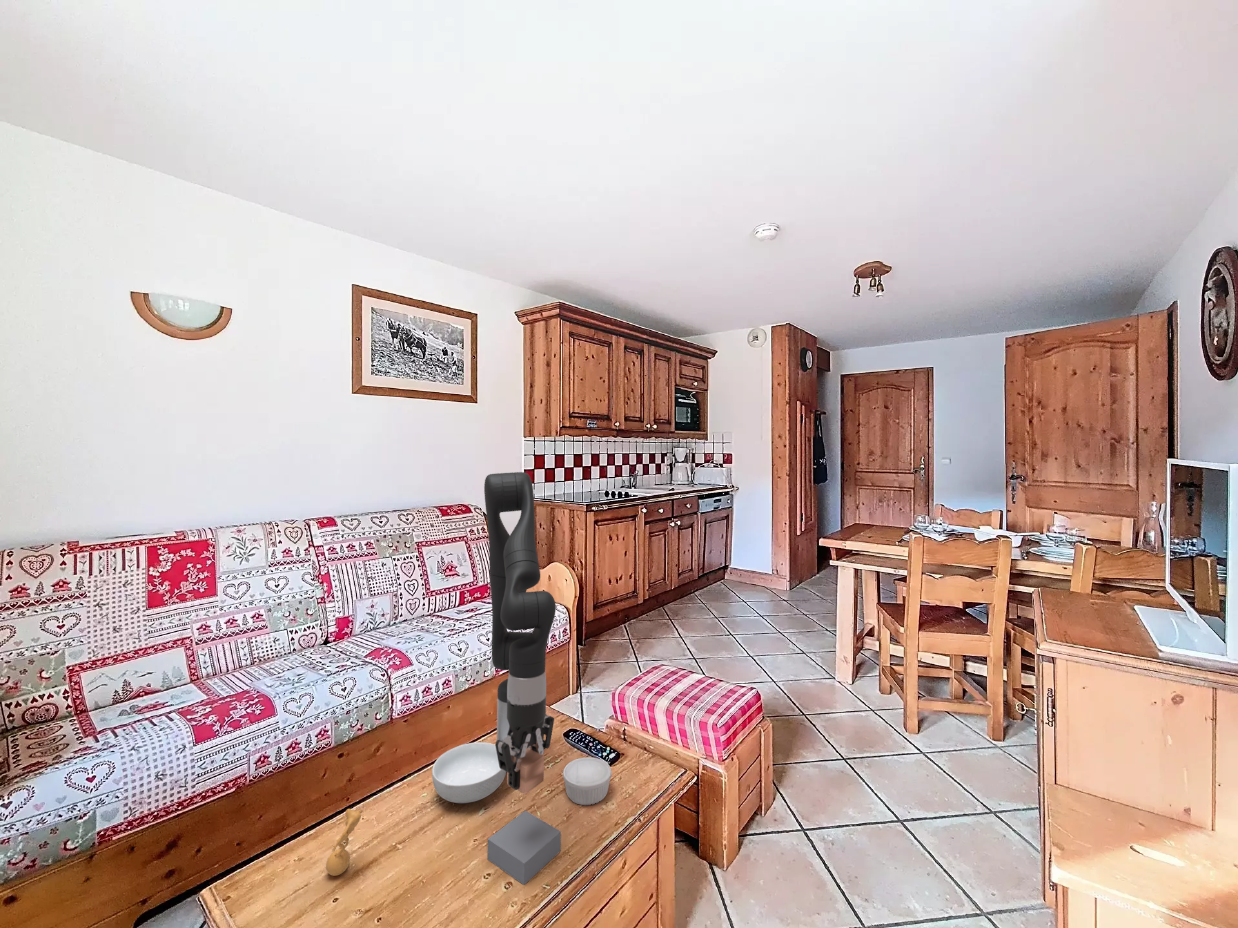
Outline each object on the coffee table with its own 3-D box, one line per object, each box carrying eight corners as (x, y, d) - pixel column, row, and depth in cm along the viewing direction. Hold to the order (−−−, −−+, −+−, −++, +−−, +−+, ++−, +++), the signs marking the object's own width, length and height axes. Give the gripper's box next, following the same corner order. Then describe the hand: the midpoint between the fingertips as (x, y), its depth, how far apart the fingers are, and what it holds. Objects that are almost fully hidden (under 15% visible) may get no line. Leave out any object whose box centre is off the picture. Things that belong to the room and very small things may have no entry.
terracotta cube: (525, 771, 103) (526, 746, 103) (543, 780, 100) (544, 755, 100) (507, 784, 99) (507, 758, 99) (525, 794, 96) (525, 767, 96)
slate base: (524, 829, 107) (525, 810, 107) (560, 850, 101) (560, 831, 101) (487, 859, 99) (487, 838, 99) (523, 884, 93) (524, 863, 93)
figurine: (339, 854, 99) (340, 793, 99) (370, 855, 99) (371, 794, 99) (314, 891, 91) (314, 824, 91) (347, 891, 91) (348, 825, 91)
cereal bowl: (475, 761, 130) (475, 733, 130) (522, 785, 121) (522, 756, 121) (416, 797, 116) (416, 766, 116) (463, 827, 107) (464, 794, 107)
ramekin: (554, 788, 120) (554, 766, 120) (593, 772, 127) (593, 751, 127) (579, 816, 111) (579, 792, 111) (620, 796, 118) (620, 774, 118)
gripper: (538, 676, 108) (537, 756, 108) (485, 702, 96) (483, 791, 96) (565, 686, 103) (564, 769, 103) (512, 714, 92) (511, 808, 92)
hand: (525, 779), depth 100 cm, fingers closed on terracotta cube, 5 cm apart
